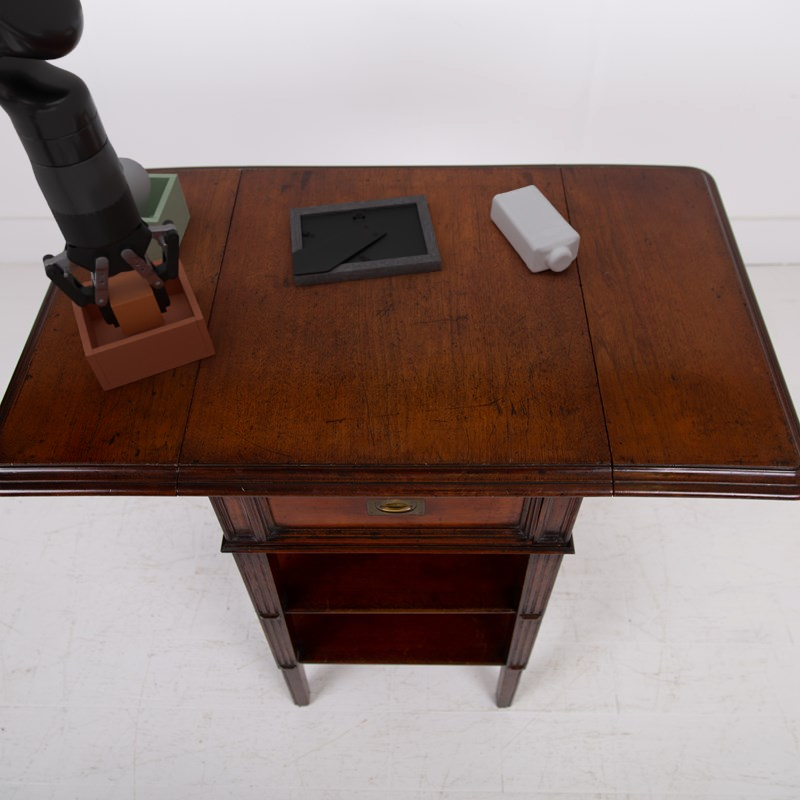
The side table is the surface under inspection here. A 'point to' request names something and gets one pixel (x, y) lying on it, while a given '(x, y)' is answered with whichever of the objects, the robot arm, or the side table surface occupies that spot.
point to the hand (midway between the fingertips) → (140, 314)
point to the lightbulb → (137, 184)
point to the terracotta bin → (145, 338)
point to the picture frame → (363, 240)
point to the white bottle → (535, 229)
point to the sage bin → (166, 208)
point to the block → (133, 303)
